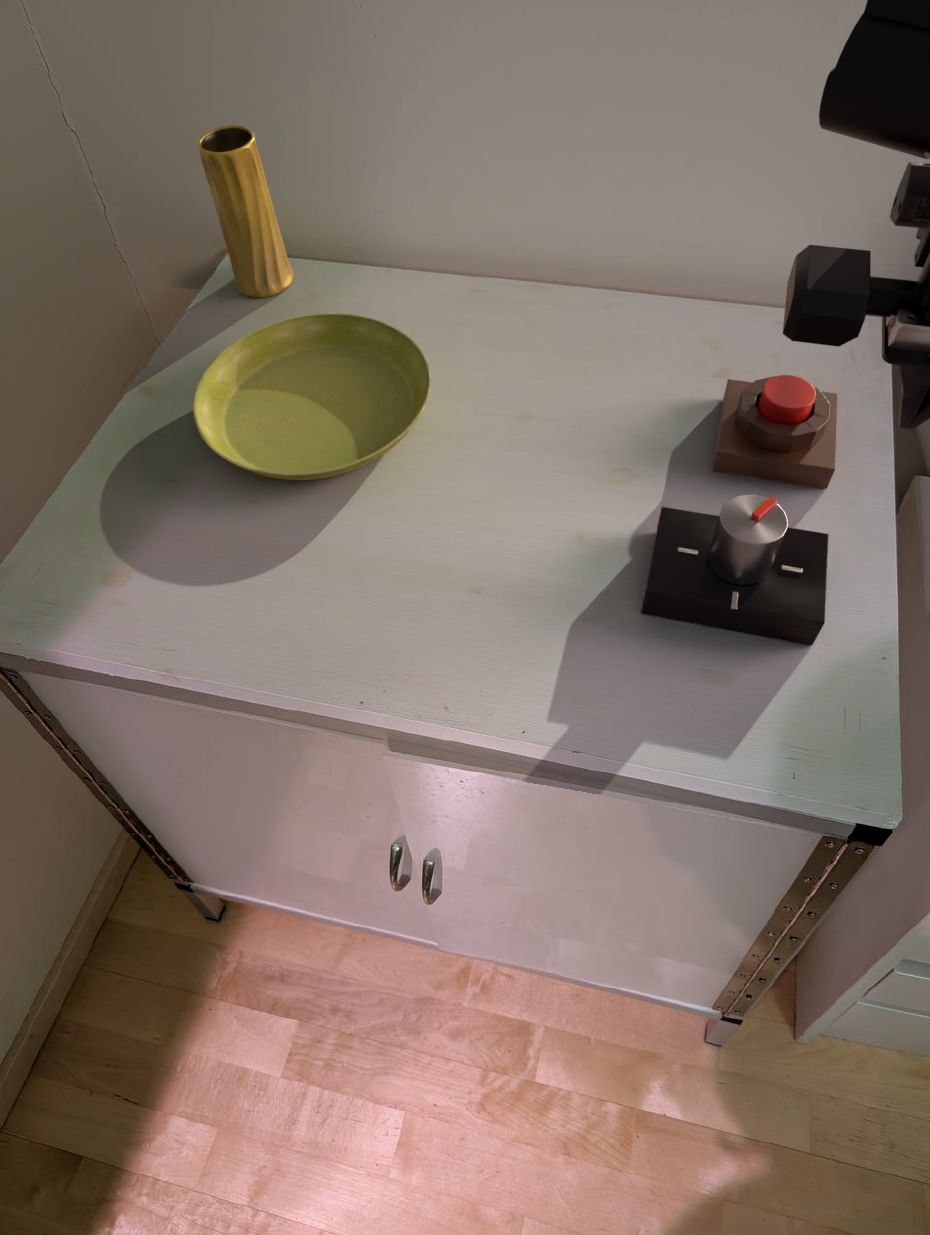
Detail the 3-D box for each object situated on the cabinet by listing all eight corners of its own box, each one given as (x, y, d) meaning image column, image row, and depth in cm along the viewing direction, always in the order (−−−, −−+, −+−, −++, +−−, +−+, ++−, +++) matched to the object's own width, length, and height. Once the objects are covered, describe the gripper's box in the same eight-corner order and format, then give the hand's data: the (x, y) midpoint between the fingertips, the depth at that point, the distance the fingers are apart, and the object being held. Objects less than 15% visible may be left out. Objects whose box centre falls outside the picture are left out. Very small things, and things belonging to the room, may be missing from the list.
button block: (830, 413, 72) (845, 376, 68) (826, 489, 67) (842, 452, 63) (722, 398, 73) (732, 361, 70) (712, 471, 68) (722, 434, 65)
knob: (746, 596, 58) (763, 552, 54) (694, 561, 60) (707, 516, 56) (783, 560, 59) (802, 514, 55) (732, 527, 61) (747, 481, 57)
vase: (224, 291, 86) (178, 149, 75) (256, 259, 89) (216, 117, 78) (274, 303, 85) (235, 160, 73) (305, 270, 88) (272, 127, 76)
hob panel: (816, 556, 63) (829, 529, 60) (812, 650, 58) (825, 624, 56) (656, 529, 65) (662, 501, 63) (639, 617, 61) (645, 591, 58)
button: (810, 395, 68) (817, 378, 66) (808, 428, 66) (815, 411, 64) (759, 388, 69) (765, 371, 67) (756, 421, 66) (761, 404, 65)
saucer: (288, 320, 83) (281, 291, 80) (474, 375, 77) (472, 346, 74) (155, 455, 73) (142, 428, 70) (356, 532, 67) (349, 504, 64)
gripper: (1208, 118, 43) (1050, 363, 56) (832, 93, 47) (764, 329, 60) (1261, 237, 37) (1070, 481, 50) (825, 198, 41) (752, 435, 54)
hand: (905, 424), depth 54 cm, fingers closed
